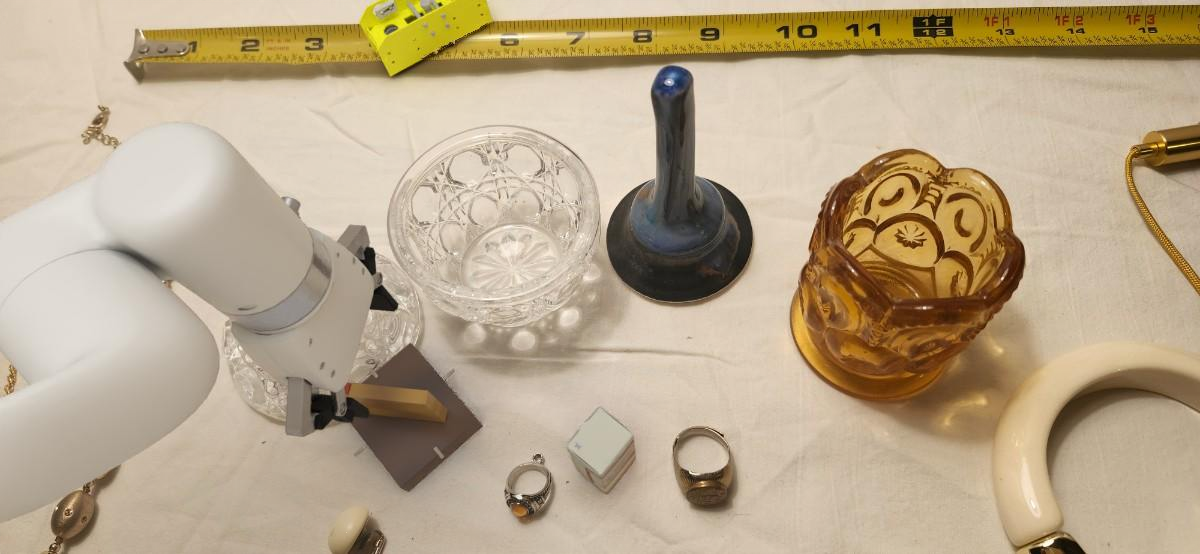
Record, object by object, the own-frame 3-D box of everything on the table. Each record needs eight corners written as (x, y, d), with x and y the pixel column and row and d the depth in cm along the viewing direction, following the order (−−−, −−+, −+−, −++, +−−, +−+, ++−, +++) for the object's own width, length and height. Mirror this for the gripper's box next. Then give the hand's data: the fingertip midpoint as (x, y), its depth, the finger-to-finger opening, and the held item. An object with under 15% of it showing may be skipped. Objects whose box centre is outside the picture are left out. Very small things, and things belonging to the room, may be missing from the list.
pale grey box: (607, 496, 75) (598, 478, 66) (574, 468, 76) (561, 447, 67) (640, 456, 76) (635, 433, 67) (607, 429, 78) (598, 403, 68)
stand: (498, 419, 79) (492, 413, 77) (399, 507, 76) (390, 503, 74) (425, 336, 84) (418, 328, 82) (330, 416, 81) (319, 409, 79)
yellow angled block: (448, 409, 77) (427, 389, 71) (445, 422, 77) (424, 403, 70) (366, 400, 79) (339, 380, 72) (363, 413, 78) (335, 394, 72)
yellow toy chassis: (475, 2, 105) (460, -46, 98) (495, 26, 103) (480, -21, 96) (376, 55, 103) (352, 10, 95) (393, 81, 101) (370, 37, 93)
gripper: (259, 159, 53) (353, 265, 68) (169, 394, 46) (297, 453, 61) (359, 165, 52) (431, 271, 67) (282, 407, 44) (383, 464, 60)
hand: (367, 358), depth 64 cm, fingers open, 9 cm apart
